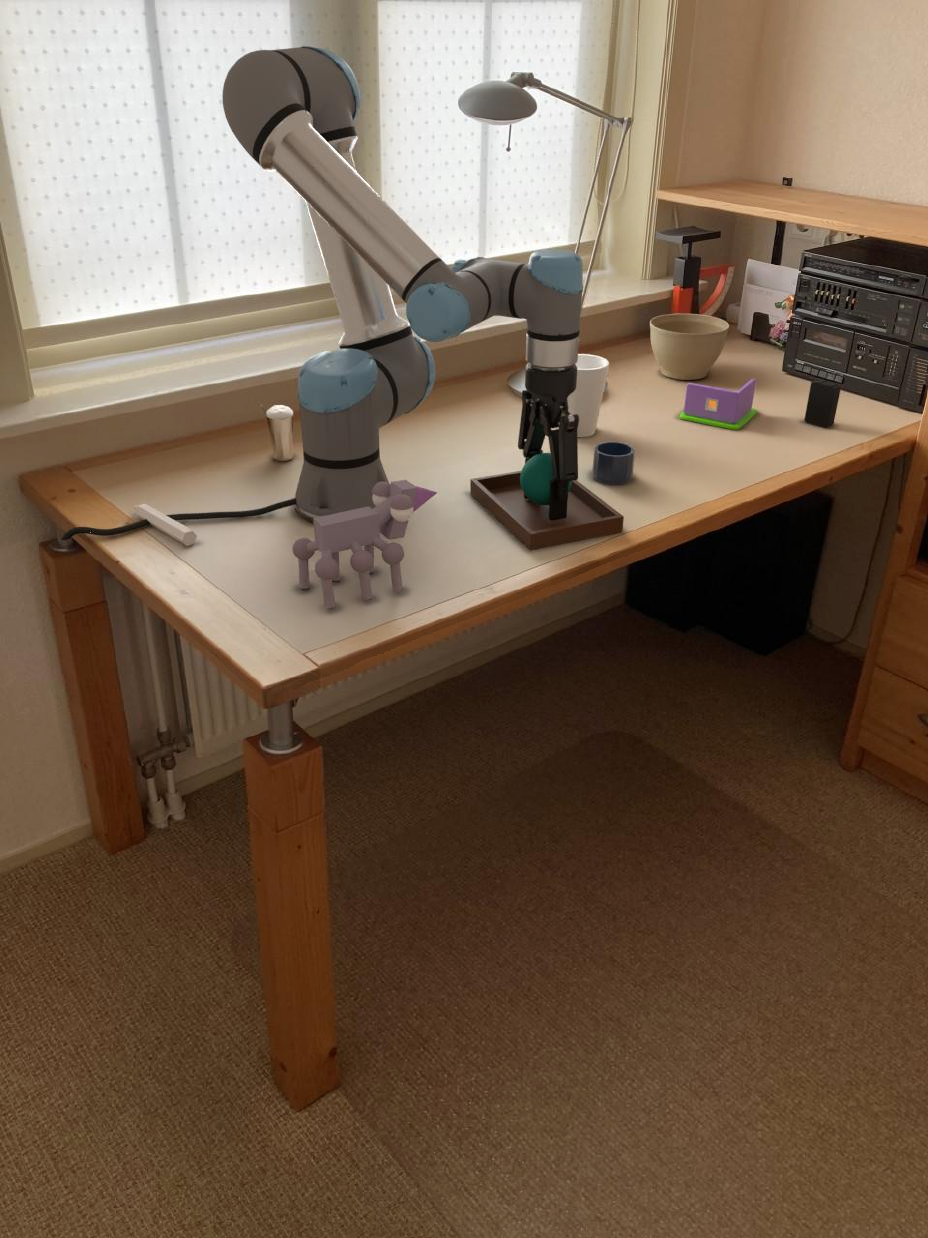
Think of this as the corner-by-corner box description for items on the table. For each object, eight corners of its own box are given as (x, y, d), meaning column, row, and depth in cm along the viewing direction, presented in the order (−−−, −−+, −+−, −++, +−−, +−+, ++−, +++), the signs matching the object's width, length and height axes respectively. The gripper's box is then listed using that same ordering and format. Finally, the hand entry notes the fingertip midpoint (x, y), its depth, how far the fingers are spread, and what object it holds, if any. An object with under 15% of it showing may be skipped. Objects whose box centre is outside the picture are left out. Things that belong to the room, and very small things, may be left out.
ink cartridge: (833, 425, 199) (841, 384, 195) (827, 428, 198) (835, 387, 194) (810, 418, 202) (817, 378, 198) (803, 421, 201) (811, 380, 197)
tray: (529, 550, 154) (530, 534, 153) (470, 493, 171) (470, 478, 170) (622, 532, 160) (624, 516, 158) (555, 479, 177) (556, 464, 175)
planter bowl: (725, 366, 230) (732, 316, 224) (717, 389, 216) (724, 336, 211) (651, 359, 234) (656, 309, 228) (639, 381, 221) (644, 329, 215)
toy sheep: (421, 551, 154) (420, 464, 147) (457, 583, 146) (457, 491, 139) (291, 582, 145) (284, 491, 138) (321, 618, 137) (314, 522, 130)
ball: (533, 517, 160) (535, 468, 156) (510, 497, 166) (512, 449, 162) (580, 508, 163) (583, 460, 159) (555, 489, 169) (558, 441, 165)
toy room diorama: (738, 431, 196) (743, 395, 193) (677, 418, 202) (681, 383, 198) (758, 412, 205) (764, 377, 202) (699, 400, 211) (704, 366, 207)
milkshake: (262, 456, 184) (256, 400, 179) (291, 450, 186) (287, 395, 181) (270, 465, 181) (265, 408, 176) (300, 459, 183) (296, 404, 178)
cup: (605, 487, 174) (607, 458, 171) (585, 472, 179) (587, 444, 176) (639, 481, 176) (642, 452, 174) (619, 466, 181) (621, 439, 179)
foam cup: (603, 423, 199) (608, 354, 193) (604, 441, 191) (609, 370, 185) (552, 420, 200) (556, 353, 194) (551, 438, 192) (555, 368, 186)
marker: (135, 515, 165) (193, 547, 155) (123, 512, 163) (181, 544, 154) (140, 499, 165) (198, 530, 155) (129, 496, 163) (187, 527, 153)
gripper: (610, 381, 146) (598, 530, 158) (542, 341, 163) (536, 479, 174) (562, 388, 144) (554, 538, 156) (497, 347, 160) (494, 486, 172)
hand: (544, 507), depth 165 cm, fingers closed on ball, 8 cm apart
